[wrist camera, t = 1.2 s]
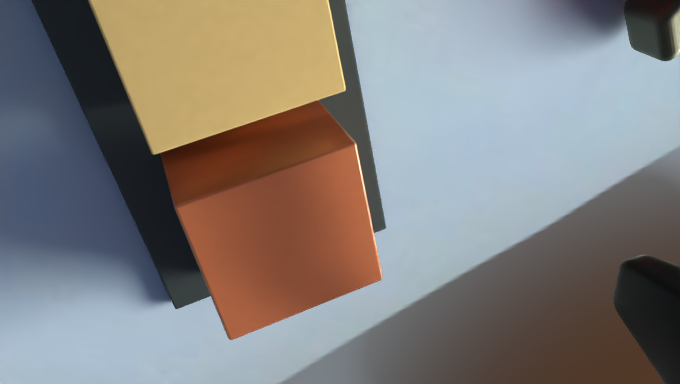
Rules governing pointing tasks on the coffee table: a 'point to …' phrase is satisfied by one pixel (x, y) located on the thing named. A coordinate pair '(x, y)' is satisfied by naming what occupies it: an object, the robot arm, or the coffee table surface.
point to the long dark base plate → (200, 92)
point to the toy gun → (654, 27)
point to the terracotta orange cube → (275, 216)
